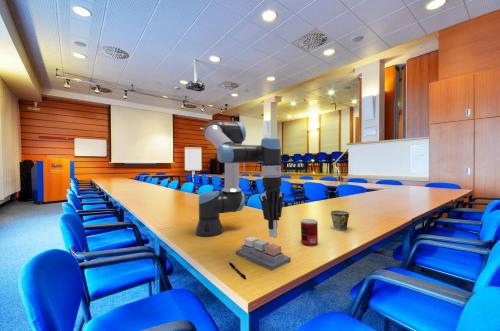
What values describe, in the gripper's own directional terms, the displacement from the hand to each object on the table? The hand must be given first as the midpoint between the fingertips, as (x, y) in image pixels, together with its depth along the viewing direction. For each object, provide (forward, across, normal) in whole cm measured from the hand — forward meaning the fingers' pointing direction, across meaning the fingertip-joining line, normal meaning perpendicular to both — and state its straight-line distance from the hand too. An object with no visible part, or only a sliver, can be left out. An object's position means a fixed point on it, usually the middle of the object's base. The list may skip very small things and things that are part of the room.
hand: (273, 236), depth 85 cm
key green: (+6, 0, +7) cm, 9 cm away
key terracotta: (+6, 0, 0) cm, 6 cm away
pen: (+11, -14, +5) cm, 18 cm away
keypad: (+10, 0, +7) cm, 12 cm away
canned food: (+10, +28, +2) cm, 30 cm away
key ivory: (+6, 0, +13) cm, 14 cm away
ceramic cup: (+10, +60, +1) cm, 61 cm away
